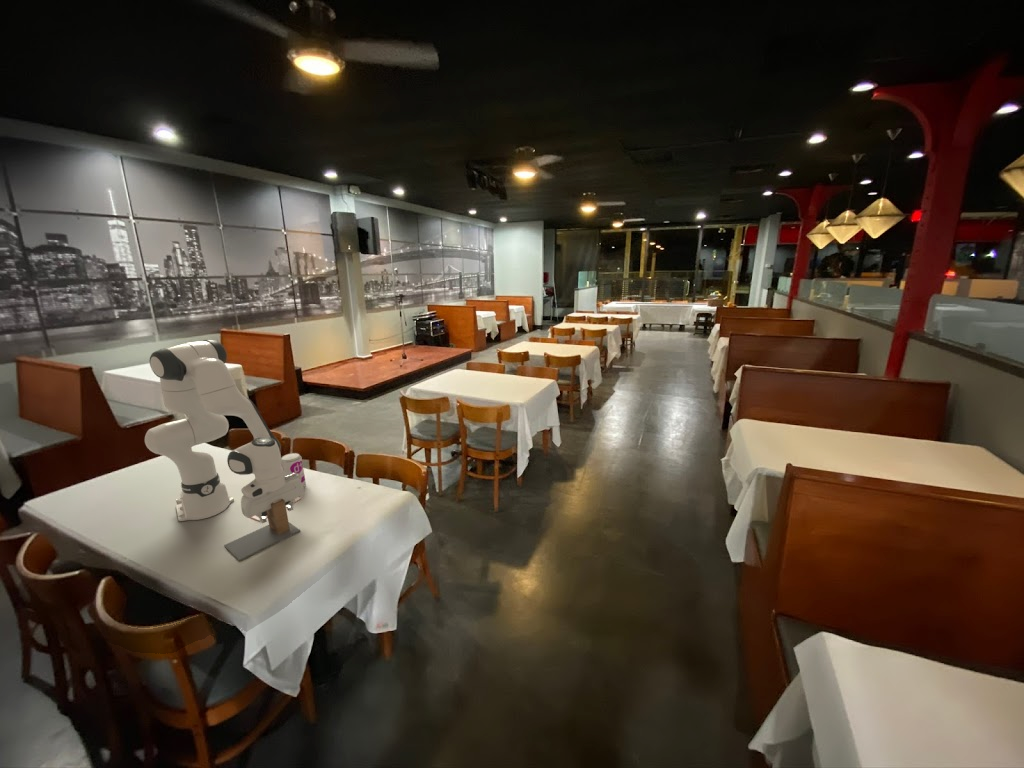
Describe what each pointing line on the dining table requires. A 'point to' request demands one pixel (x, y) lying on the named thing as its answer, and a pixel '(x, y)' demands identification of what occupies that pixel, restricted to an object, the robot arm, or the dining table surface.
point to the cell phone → (266, 511)
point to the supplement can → (293, 465)
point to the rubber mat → (257, 541)
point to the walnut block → (278, 517)
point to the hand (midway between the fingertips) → (277, 516)
